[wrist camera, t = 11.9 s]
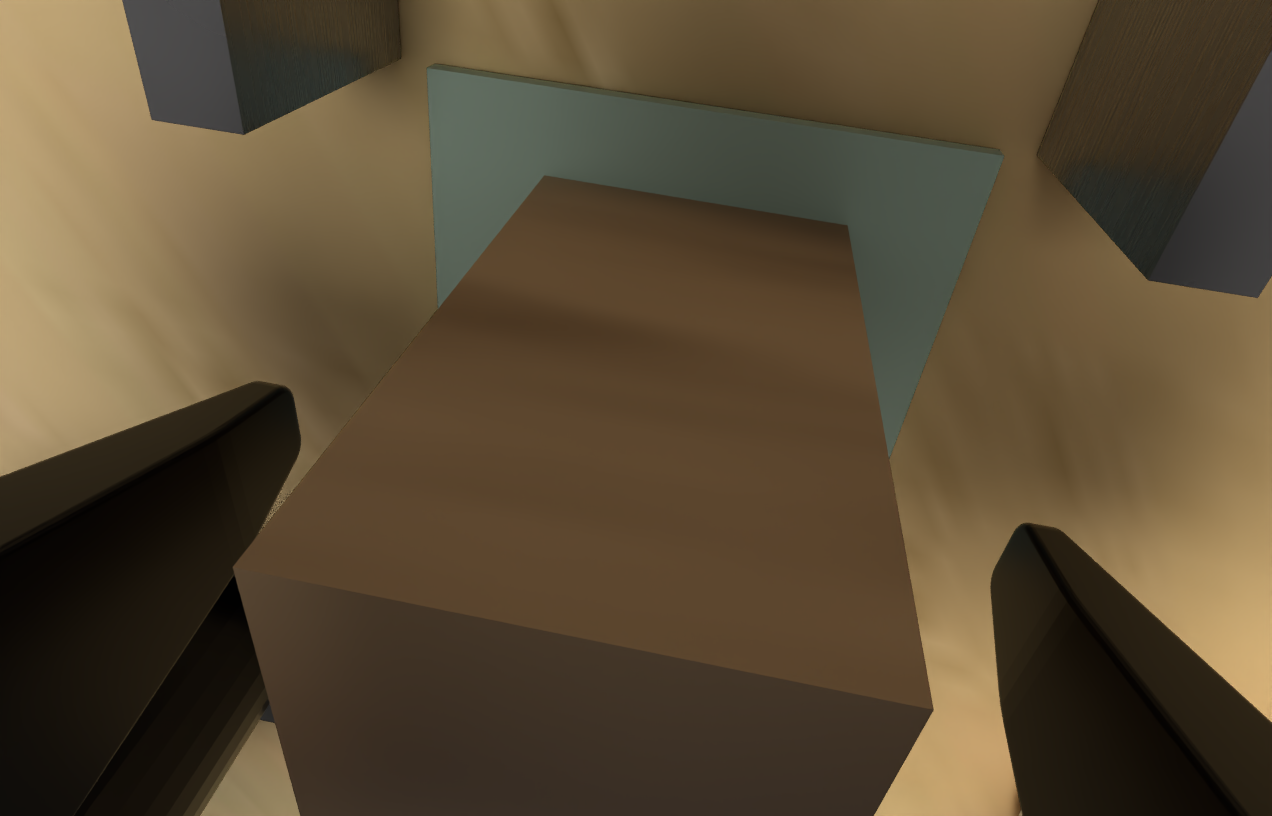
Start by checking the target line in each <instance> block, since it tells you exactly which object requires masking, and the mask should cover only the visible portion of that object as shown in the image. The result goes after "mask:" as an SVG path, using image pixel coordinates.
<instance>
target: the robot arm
mask: <svg viewBox="0 0 1272 816" xmlns="http://www.w3.org/2000/svg"><path fill="white" fill-rule="evenodd" d="M300 446H301V435H300V430H299V424H298V419H297V413H296V408H295V402H294V397H293V394H292V392H291V391H290V389H289V388H287V387H286V386H283V385H277V384H272V383H266V382H260V381H256V382H252V383H249V384H246V385H243V386H241V387H238V388H236V389H233V390H230V391H228V392H225V393H222V394H220V395H217V396H214V397H212V398H209V399H206V400H204V401H201V402H198V403H196V404H193V405H190V406H188V407H185V408H182V409H180V410H177V411H174V412H172V413H169V414H166V415H164V416H161V417H158V418H156V419H153V420H150V421H148V422H145V423H142V424H140V425H137V426H134V427H132V428H129V429H126V430H124V431H121V432H118V433H116V434H113V435H110V436H108V437H105V438H102V439H100V440H97V441H94V442H92V443H89V444H86V445H84V446H81V447H78V448H76V449H73V450H70V451H68V452H65V453H62V454H60V455H57V456H54V457H52V458H49V459H46V460H44V461H41V462H38V463H36V464H33V465H30V466H28V467H25V468H22V469H20V470H17V471H14V472H12V473H9V474H6V475H4V476H1V477H0V816H200V815H201V813H202V812H203V810H204V809H205V807H206V805H207V804H208V802H209V800H210V799H211V797H212V796H213V794H214V792H215V791H216V789H217V788H218V786H219V784H220V783H221V781H222V780H223V778H224V776H225V775H226V773H227V771H228V770H229V768H230V767H231V765H232V763H233V762H234V760H235V759H236V757H237V755H238V754H239V752H240V750H241V749H242V747H243V746H244V744H245V742H246V741H247V739H248V738H249V736H250V734H251V733H252V731H253V730H254V728H255V726H256V725H257V723H258V721H259V720H263V721H268V722H273V723H275V721H274V717H273V714H272V710H271V706H270V703H269V699H268V695H267V692H266V688H265V684H264V681H263V677H262V673H261V670H260V666H259V662H258V659H257V655H256V651H255V648H254V644H253V640H252V637H251V633H250V629H249V626H248V622H247V618H246V615H245V611H244V607H243V603H242V600H241V596H240V592H239V589H238V585H237V581H236V578H235V574H234V570H233V566H234V565H235V564H236V562H237V561H238V560H239V558H240V557H241V556H242V555H243V553H244V552H245V551H246V550H247V548H248V547H249V546H250V545H251V543H252V542H253V541H254V540H255V538H256V537H257V535H258V533H259V531H260V529H261V527H262V526H263V524H264V522H265V520H266V518H267V516H268V514H269V512H270V510H271V508H272V506H273V504H274V502H275V500H276V498H277V496H278V494H279V492H280V490H281V489H282V487H283V485H284V483H285V481H286V479H287V477H288V475H289V473H290V471H291V469H292V467H293V465H294V463H295V461H296V459H297V457H298V454H299V451H300ZM990 588H991V602H992V615H993V627H994V639H995V652H996V664H997V676H998V688H999V697H1000V706H1001V711H1002V717H1003V723H1004V728H1005V733H1006V738H1007V743H1008V748H1009V753H1010V758H1011V763H1012V768H1013V772H1014V777H1015V782H1016V787H1017V792H1018V797H1019V802H1020V807H1021V812H1022V816H1272V722H1271V721H1270V720H1269V719H1267V718H1266V717H1265V716H1264V715H1263V714H1262V713H1261V712H1260V711H1259V710H1258V709H1256V708H1255V707H1254V706H1253V705H1252V704H1251V703H1250V702H1249V701H1248V700H1247V699H1246V698H1244V697H1243V696H1242V695H1241V694H1240V693H1239V692H1238V691H1237V690H1236V689H1235V688H1233V687H1232V686H1231V685H1230V684H1229V683H1228V682H1227V681H1226V680H1225V679H1224V678H1223V677H1221V676H1220V675H1219V674H1218V673H1217V672H1216V671H1215V670H1214V669H1213V668H1212V667H1210V666H1209V665H1208V664H1207V663H1206V662H1205V661H1204V660H1203V659H1202V658H1201V657H1200V656H1198V655H1197V654H1196V653H1195V652H1194V651H1193V650H1192V649H1191V648H1190V647H1189V646H1187V645H1186V644H1185V643H1184V642H1183V641H1182V640H1181V639H1180V638H1179V637H1178V636H1176V635H1175V634H1174V633H1173V632H1172V631H1171V630H1170V629H1169V628H1168V627H1167V626H1166V625H1164V624H1163V623H1162V622H1161V621H1160V620H1159V619H1158V618H1157V617H1156V616H1155V615H1153V614H1152V613H1151V612H1150V611H1149V610H1148V609H1147V608H1146V607H1145V606H1144V605H1143V604H1141V603H1140V602H1139V601H1138V600H1137V599H1136V598H1135V597H1134V596H1133V595H1132V594H1130V593H1129V592H1128V591H1127V590H1126V589H1125V588H1124V587H1123V586H1122V585H1121V584H1120V583H1118V582H1117V581H1116V580H1115V579H1114V578H1113V577H1112V576H1111V575H1110V574H1109V573H1107V572H1106V571H1105V570H1104V569H1103V568H1102V567H1101V566H1100V565H1099V564H1098V563H1097V562H1095V561H1094V560H1093V559H1092V558H1091V557H1090V556H1089V555H1088V554H1087V553H1086V552H1084V551H1083V550H1082V549H1081V548H1080V547H1079V546H1078V545H1077V544H1076V543H1075V542H1073V541H1072V540H1071V539H1070V538H1069V537H1068V536H1067V535H1066V534H1065V533H1064V532H1062V531H1061V530H1059V529H1057V528H1054V527H1049V526H1044V525H1038V524H1033V523H1023V524H1021V525H1019V526H1018V527H1017V528H1016V530H1015V531H1014V533H1013V535H1012V537H1011V538H1010V540H1009V542H1008V544H1007V546H1006V548H1005V550H1004V551H1003V553H1002V555H1001V557H1000V559H999V561H998V563H997V564H996V566H995V568H994V571H993V574H992V578H991V586H990Z"/></svg>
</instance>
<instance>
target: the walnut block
mask: <svg viewBox="0 0 1272 816" xmlns="http://www.w3.org/2000/svg"><path fill="white" fill-rule="evenodd" d="M233 570H234V574H235V578H236V581H237V585H238V589H239V592H240V596H241V600H242V603H243V607H244V611H245V615H246V618H247V622H248V626H249V629H250V633H251V637H252V640H253V644H254V648H255V651H256V655H257V659H258V662H259V666H260V670H261V673H262V677H263V681H264V684H265V688H266V692H267V695H268V699H269V703H270V706H271V710H272V714H273V717H274V721H275V725H276V728H277V732H278V736H279V739H280V743H281V747H282V750H283V754H284V758H285V761H286V765H287V769H288V772H289V776H290V780H291V783H292V787H293V791H294V794H295V798H296V802H297V805H298V809H299V813H300V816H874V814H875V812H876V811H877V809H878V807H879V805H880V804H881V802H882V800H883V798H884V797H885V795H886V793H887V791H888V790H889V788H890V786H891V784H892V782H893V781H894V779H895V777H896V775H897V774H898V772H899V770H900V768H901V767H902V765H903V763H904V761H905V759H906V758H907V756H908V754H909V752H910V751H911V749H912V747H913V745H914V744H915V742H916V740H917V738H918V736H919V735H920V733H921V731H922V729H923V728H924V726H925V724H926V722H927V721H928V719H929V717H930V715H931V714H932V712H933V704H932V698H931V693H930V687H929V681H928V676H927V670H926V664H925V659H924V653H923V648H922V642H921V636H920V631H919V625H918V619H917V614H916V608H915V602H914V597H913V591H912V586H911V580H910V574H909V569H908V563H907V557H906V552H905V546H904V540H903V535H902V529H901V523H900V518H899V512H898V507H897V501H896V495H895V490H894V484H893V478H892V473H891V467H890V461H889V456H888V450H887V445H886V439H885V433H884V428H883V422H882V416H881V411H880V405H879V399H878V394H877V388H876V383H875V377H874V371H873V366H872V360H871V354H870V349H869V343H868V337H867V332H866V326H865V321H864V315H863V309H862V304H861V298H860V292H859V287H858V281H857V275H856V270H855V264H854V259H853V253H852V247H851V242H850V236H849V230H848V225H842V224H836V223H830V222H824V221H818V220H812V219H806V218H800V217H794V216H788V215H782V214H776V213H770V212H764V211H757V210H751V209H745V208H739V207H733V206H727V205H721V204H715V203H709V202H703V201H697V200H691V199H685V198H679V197H673V196H667V195H661V194H655V193H648V192H642V191H636V190H630V189H624V188H618V187H612V186H606V185H600V184H594V183H588V182H582V181H576V180H570V179H564V178H558V177H552V176H545V175H544V176H543V178H542V179H541V180H540V181H539V183H538V184H537V185H536V186H535V188H534V189H533V190H532V191H531V193H530V194H529V195H528V196H527V198H526V199H525V200H524V201H523V203H522V204H521V205H520V206H519V208H518V209H517V210H516V211H515V213H514V214H513V215H512V217H511V218H510V219H509V220H508V222H507V223H506V224H505V225H504V227H503V228H502V229H501V230H500V232H499V233H498V234H497V235H496V237H495V238H494V239H493V240H492V242H491V243H490V244H489V245H488V247H487V248H486V249H485V250H484V252H483V253H482V254H481V255H480V257H479V258H478V259H477V261H476V262H475V263H474V264H473V266H472V267H471V268H470V269H469V271H468V272H467V273H466V274H465V276H464V277H463V278H462V279H461V281H460V282H459V283H458V284H457V286H456V287H455V288H454V289H453V291H452V292H451V293H450V294H449V296H448V297H447V298H446V299H445V301H444V302H443V303H442V305H441V306H440V307H439V308H438V310H437V311H436V312H435V313H434V315H433V316H432V317H431V318H430V320H429V321H428V322H427V323H426V325H425V326H424V327H423V328H422V330H421V331H420V332H419V333H418V335H417V336H416V337H415V338H414V340H413V341H412V342H411V343H410V345H409V346H408V347H407V349H406V350H405V351H404V352H403V354H402V355H401V356H400V357H399V359H398V360H397V361H396V362H395V364H394V365H393V366H392V367H391V369H390V370H389V371H388V372H387V374H386V375H385V376H384V377H383V379H382V380H381V381H380V382H379V384H378V385H377V386H376V387H375V389H374V390H373V391H372V393H371V394H370V395H369V396H368V398H367V399H366V400H365V401H364V403H363V404H362V405H361V406H360V408H359V409H358V410H357V411H356V413H355V414H354V415H353V416H352V418H351V419H350V420H349V421H348V423H347V424H346V425H345V426H344V428H343V429H342V430H341V432H340V433H339V434H338V435H337V437H336V438H335V439H334V440H333V442H332V443H331V444H330V445H329V447H328V448H327V449H326V450H325V452H324V453H323V454H322V455H321V457H320V458H319V459H318V460H317V462H316V463H315V464H314V465H313V467H312V468H311V469H310V470H309V472H308V473H307V474H306V476H305V477H304V478H303V479H302V481H301V482H300V483H299V484H298V486H297V487H296V488H295V489H294V491H293V492H292V493H291V494H290V496H289V497H288V498H287V499H286V501H285V502H284V503H283V504H282V506H281V507H280V508H279V509H278V511H277V512H276V513H275V514H274V516H273V517H272V518H271V520H270V521H269V522H268V523H267V525H266V526H265V527H264V528H263V530H262V531H261V532H260V533H259V535H258V536H257V537H256V538H255V540H254V541H253V542H252V543H251V545H250V546H249V547H248V548H247V550H246V551H245V552H244V553H243V555H242V556H241V557H240V558H239V560H238V561H237V562H236V564H235V565H234V566H233Z"/></svg>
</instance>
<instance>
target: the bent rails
mask: <svg viewBox="0 0 1272 816" xmlns="http://www.w3.org/2000/svg"><path fill="white" fill-rule="evenodd" d="M122 1H123V5H124V9H125V13H126V17H127V21H128V25H129V29H130V33H131V37H132V42H133V46H134V50H135V54H136V58H137V62H138V66H139V70H140V74H141V78H142V82H143V86H144V90H145V94H146V98H147V102H148V106H149V110H150V114H151V118H152V120H156V121H162V122H168V123H174V124H180V125H187V126H193V127H199V128H205V129H211V130H218V131H224V132H230V133H236V134H243V135H244V134H246V133H249V132H251V131H253V130H255V129H257V128H259V127H261V126H263V125H265V124H267V123H269V122H271V121H273V120H275V119H277V118H280V117H282V116H284V115H286V114H288V113H290V112H292V111H294V110H296V109H298V108H300V107H302V106H304V105H306V104H308V103H310V102H313V101H315V100H317V99H319V98H321V97H323V96H325V95H327V94H329V93H331V92H333V91H335V90H337V89H339V88H341V87H343V86H346V85H348V84H350V83H352V82H354V81H356V80H358V79H360V78H362V77H364V76H366V75H368V74H370V73H372V72H374V71H377V70H379V69H381V68H383V67H385V66H387V65H389V64H391V63H393V62H395V61H397V60H399V59H401V49H400V34H399V18H398V2H397V0H122ZM1037 156H1038V157H1039V158H1040V160H1041V161H1042V162H1043V163H1044V164H1045V165H1046V166H1047V167H1048V169H1049V170H1050V171H1051V172H1052V173H1053V174H1054V175H1055V176H1056V178H1057V179H1058V180H1059V181H1060V182H1061V183H1062V184H1063V185H1064V186H1065V188H1066V189H1067V190H1068V191H1069V192H1070V193H1071V194H1072V195H1073V197H1074V198H1075V199H1076V200H1077V201H1078V202H1079V203H1080V204H1081V206H1082V207H1083V208H1084V209H1085V210H1086V211H1087V212H1088V213H1089V215H1090V216H1091V217H1092V218H1093V219H1094V220H1095V221H1096V222H1097V224H1098V225H1099V226H1100V227H1101V228H1102V229H1103V230H1104V231H1105V233H1106V234H1107V235H1108V236H1109V237H1110V238H1111V239H1112V240H1113V242H1114V243H1115V244H1116V245H1117V246H1118V247H1119V248H1120V249H1121V251H1122V252H1123V253H1124V254H1125V255H1126V256H1127V257H1128V258H1129V260H1130V261H1131V262H1132V263H1133V264H1134V265H1135V266H1136V267H1137V268H1138V270H1139V271H1140V272H1141V273H1142V274H1143V275H1144V276H1145V277H1146V279H1147V280H1149V281H1155V282H1162V283H1168V284H1174V285H1180V286H1186V287H1193V288H1199V289H1205V290H1211V291H1217V292H1224V293H1230V294H1236V295H1242V296H1248V297H1255V298H1258V297H1259V295H1260V294H1261V292H1262V290H1263V289H1264V287H1265V286H1266V284H1267V283H1268V281H1269V279H1270V278H1271V276H1272V0H1099V2H1098V5H1097V7H1096V9H1095V12H1094V14H1093V17H1092V19H1091V22H1090V24H1089V27H1088V29H1087V32H1086V34H1085V37H1084V39H1083V42H1082V44H1081V47H1080V49H1079V52H1078V54H1077V57H1076V59H1075V61H1074V64H1073V66H1072V69H1071V71H1070V74H1069V76H1068V79H1067V81H1066V84H1065V86H1064V89H1063V91H1062V94H1061V96H1060V99H1059V101H1058V104H1057V106H1056V108H1055V111H1054V113H1053V116H1052V118H1051V121H1050V123H1049V126H1048V128H1047V131H1046V133H1045V136H1044V138H1043V141H1042V143H1041V146H1040V148H1039V151H1038V153H1037Z"/></svg>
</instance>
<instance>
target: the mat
mask: <svg viewBox="0 0 1272 816" xmlns="http://www.w3.org/2000/svg"><path fill="white" fill-rule="evenodd" d="M427 84H428V105H429V127H430V149H431V170H432V192H433V214H434V235H435V257H436V279H437V300H438V308H439V307H440V306H441V305H442V303H443V302H444V301H445V299H446V298H447V297H448V296H449V294H450V293H451V292H452V291H453V289H454V288H455V287H456V286H457V284H458V283H459V282H460V281H461V279H462V278H463V277H464V276H465V274H466V273H467V272H468V271H469V269H470V268H471V267H472V266H473V264H474V263H475V262H476V261H477V259H478V258H479V257H480V255H481V254H482V253H483V252H484V250H485V249H486V248H487V247H488V245H489V244H490V243H491V242H492V240H493V239H494V238H495V237H496V235H497V234H498V233H499V232H500V230H501V229H502V228H503V227H504V225H505V224H506V223H507V222H508V220H509V219H510V218H511V217H512V215H513V214H514V213H515V211H516V210H517V209H518V208H519V206H520V205H521V204H522V203H523V201H524V200H525V199H526V198H527V196H528V195H529V194H530V193H531V191H532V190H533V189H534V188H535V186H536V185H537V184H538V183H539V181H540V180H541V179H542V178H543V176H544V175H545V176H552V177H558V178H564V179H570V180H576V181H582V182H588V183H594V184H600V185H606V186H612V187H618V188H624V189H630V190H636V191H642V192H648V193H655V194H661V195H667V196H673V197H679V198H685V199H691V200H697V201H703V202H709V203H715V204H721V205H727V206H733V207H739V208H745V209H751V210H757V211H764V212H770V213H776V214H782V215H788V216H794V217H800V218H806V219H812V220H818V221H824V222H830V223H836V224H842V225H848V230H849V236H850V242H851V247H852V253H853V259H854V264H855V270H856V275H857V281H858V287H859V292H860V298H861V304H862V309H863V315H864V321H865V326H866V332H867V337H868V343H869V349H870V354H871V360H872V366H873V371H874V377H875V383H876V388H877V394H878V399H879V405H880V411H881V416H882V422H883V428H884V433H885V439H886V445H887V450H888V456H889V458H890V456H891V453H892V450H893V448H894V445H895V443H896V440H897V437H898V435H899V432H900V429H901V427H902V424H903V422H904V419H905V416H906V414H907V411H908V408H909V406H910V403H911V400H912V398H913V395H914V393H915V390H916V387H917V385H918V382H919V379H920V377H921V374H922V372H923V369H924V366H925V364H926V361H927V358H928V356H929V353H930V351H931V348H932V345H933V343H934V340H935V337H936V335H937V332H938V330H939V327H940V324H941V322H942V319H943V316H944V314H945V311H946V308H947V306H948V303H949V301H950V298H951V295H952V293H953V290H954V287H955V285H956V282H957V280H958V277H959V274H960V272H961V269H962V266H963V264H964V261H965V259H966V256H967V253H968V251H969V248H970V245H971V243H972V240H973V237H974V235H975V232H976V230H977V227H978V224H979V222H980V219H981V216H982V214H983V211H984V209H985V206H986V203H987V201H988V198H989V195H990V193H991V190H992V188H993V185H994V182H995V180H996V177H997V174H998V172H999V169H1000V167H1001V164H1002V161H1003V159H1004V155H1003V153H1002V152H1001V151H1000V150H999V149H993V148H986V147H979V146H973V145H966V144H960V143H953V142H947V141H940V140H933V139H927V138H920V137H914V136H907V135H900V134H894V133H887V132H881V131H874V130H868V129H861V128H854V127H848V126H841V125H835V124H828V123H822V122H815V121H808V120H802V119H795V118H789V117H782V116H775V115H769V114H762V113H756V112H749V111H743V110H736V109H729V108H723V107H716V106H710V105H703V104H697V103H690V102H683V101H677V100H670V99H664V98H657V97H650V96H644V95H637V94H631V93H624V92H618V91H611V90H604V89H598V88H591V87H585V86H578V85H572V84H565V83H558V82H552V81H545V80H539V79H532V78H525V77H519V76H512V75H506V74H499V73H493V72H486V71H479V70H473V69H466V68H460V67H453V66H447V65H440V64H433V65H431V66H429V67H428V68H427Z"/></svg>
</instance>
